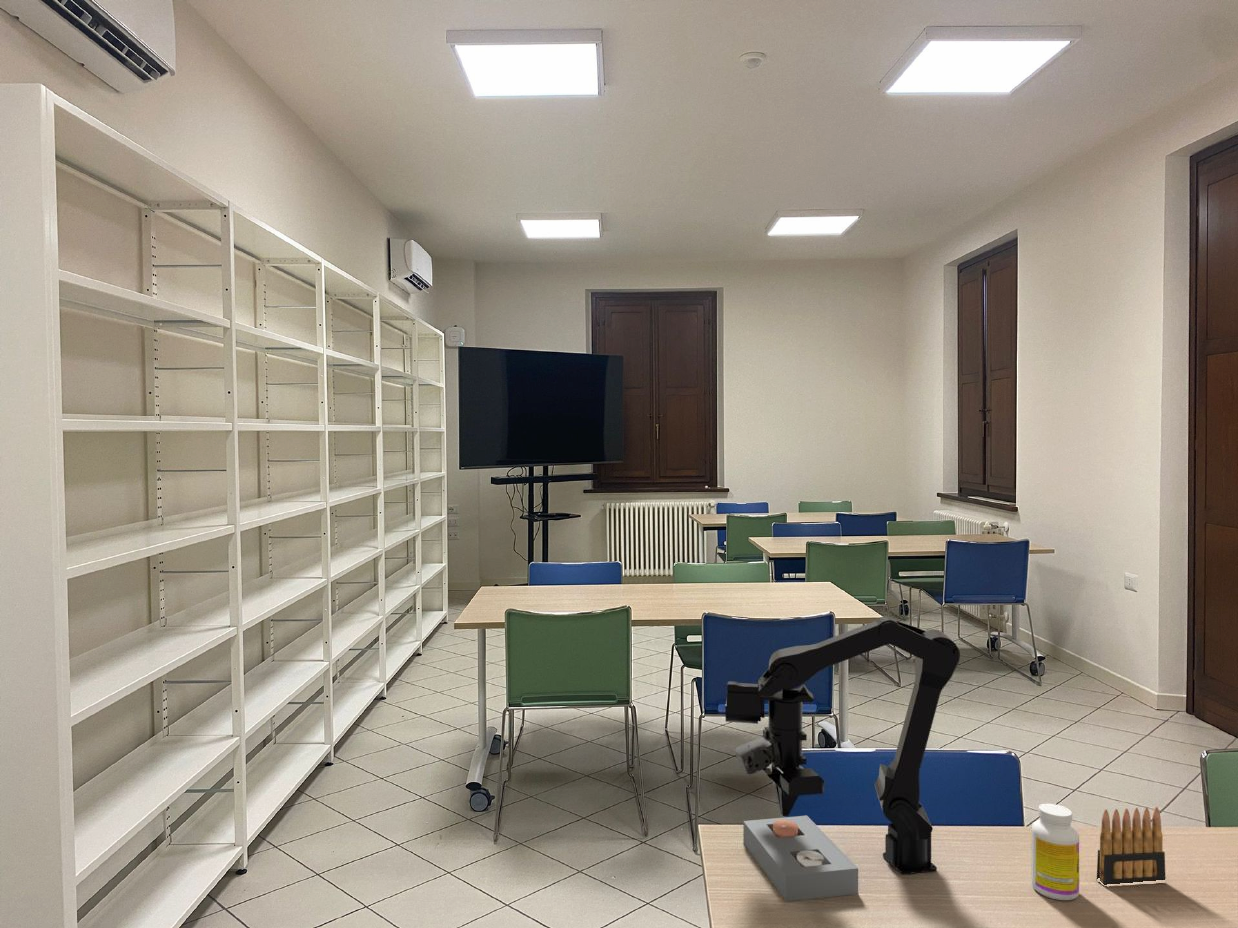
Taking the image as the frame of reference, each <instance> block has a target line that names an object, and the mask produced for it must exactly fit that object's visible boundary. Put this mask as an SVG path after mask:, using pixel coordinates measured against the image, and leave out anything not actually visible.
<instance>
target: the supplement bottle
mask: <svg viewBox="0 0 1238 928" xmlns="http://www.w3.org/2000/svg"><path fill="white" fill-rule="evenodd" d="M1038 817H1039V819H1037V820H1036V821H1034V822H1033V824H1032V825H1031V862H1030V863H1031V873H1030V874H1031V878H1030V879H1031V885H1032V887H1033V888H1034V890H1035V891H1037V893H1039V894H1041V895H1042V896H1044V897H1047V898H1050V899H1053V900H1058V901H1073V900H1076V899H1077V898H1078V896H1079V895H1080V835H1079V833H1078V830H1077V829H1076V828H1075V827H1074V826H1072V822H1073V812H1072V811H1071V809H1069V808H1067V807H1066V806H1063V805H1059V804H1054V803H1042V804H1039V805H1038Z"/></svg>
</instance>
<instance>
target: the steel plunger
mask: <svg viewBox="0 0 1238 928" xmlns="http://www.w3.org/2000/svg"><path fill="white" fill-rule="evenodd" d="M797 862H798V863H799V864H800V865H801V866H802V867H808V866H818V865H824V857H823V856H822V855H821V854H820V853H818V852H815V851H809V850H805V851H800V852H798V853H797Z"/></svg>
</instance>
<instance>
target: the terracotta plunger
mask: <svg viewBox="0 0 1238 928" xmlns="http://www.w3.org/2000/svg"><path fill="white" fill-rule="evenodd" d="M773 833H774V834H775V835H776V837H777V838H779V837H790V836H798V825H797V824H796V823H794V822H792V821H788V820H778V821H775V822H774V823H773Z"/></svg>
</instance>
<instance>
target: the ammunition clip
mask: <svg viewBox="0 0 1238 928" xmlns="http://www.w3.org/2000/svg"><path fill="white" fill-rule="evenodd" d="M1141 819H1142V820H1141ZM1121 820H1122V821H1121ZM1131 821H1132V822H1131ZM1121 822H1122V823H1121ZM1100 830H1101V831H1100V834H1099V849H1097V863H1096V864H1097V865H1096V866H1097V867H1096V880H1097V879H1098V878H1100V881H1101V882H1102V883H1103V884H1104V885H1107V884H1120V883H1133V882H1143V881H1156V880H1165V879H1166V854H1165V851H1163V848H1164V847H1163V836H1164V835H1163V832H1162V818H1161V813H1160V809H1159V808H1158V806H1155V808H1154V810H1153V812H1152V818H1151V813H1150V811H1149V808H1148V807H1145V808H1144V810H1143V814H1142V818H1141V813H1140V811H1139V809H1138V807H1135V809H1134V811H1133V814H1132V820H1131V815H1130V812H1129V809H1128V808H1125V809H1124V812H1123V815H1122V819H1121V816H1120V813H1119V809H1118V808H1115V810H1114V811H1113V814H1112V818H1111V819H1110V813H1109V811H1108V809H1106V808H1105V809H1104V811H1103V813H1102V818H1101V827H1100ZM1166 880H1167V879H1166Z"/></svg>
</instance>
